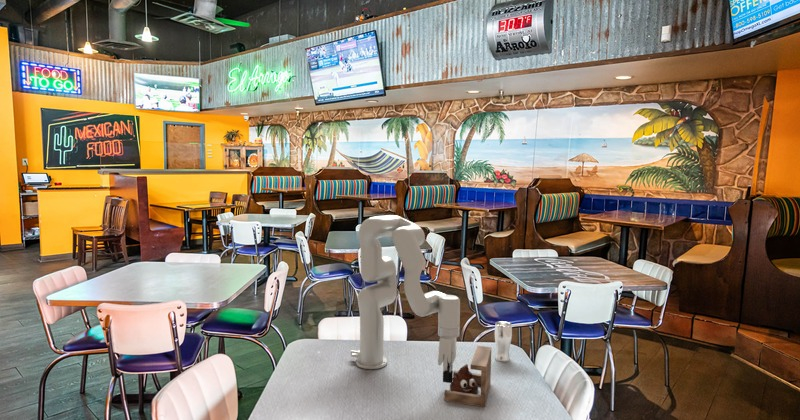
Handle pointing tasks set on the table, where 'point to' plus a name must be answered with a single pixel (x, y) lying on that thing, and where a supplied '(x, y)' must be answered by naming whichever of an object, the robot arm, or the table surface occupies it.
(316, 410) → the table surface
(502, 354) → the white cylindrical piece
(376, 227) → the robot arm
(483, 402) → the cubby
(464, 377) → the poop emoji
